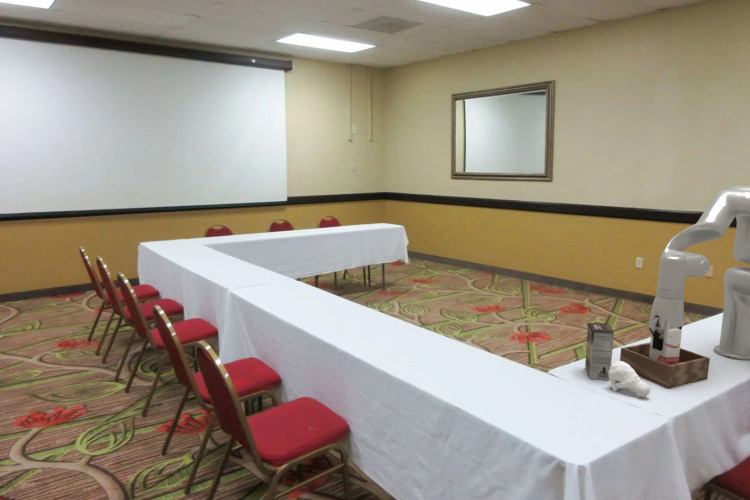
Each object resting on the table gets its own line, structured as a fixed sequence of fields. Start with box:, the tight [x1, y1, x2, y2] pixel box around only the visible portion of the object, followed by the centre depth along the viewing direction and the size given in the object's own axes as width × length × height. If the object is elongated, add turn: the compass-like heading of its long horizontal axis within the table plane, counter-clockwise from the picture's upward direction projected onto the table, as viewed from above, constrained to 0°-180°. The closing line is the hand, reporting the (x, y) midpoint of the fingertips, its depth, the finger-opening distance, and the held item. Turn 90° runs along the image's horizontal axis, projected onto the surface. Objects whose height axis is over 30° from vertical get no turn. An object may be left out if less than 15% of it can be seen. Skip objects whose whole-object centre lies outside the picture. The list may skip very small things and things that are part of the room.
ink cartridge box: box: [649, 320, 683, 365], centre depth 172 cm, size 9×5×15 cm, turn 5°
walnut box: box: [619, 341, 711, 390], centre depth 173 cm, size 18×18×7 cm
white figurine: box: [608, 360, 651, 399], centre depth 159 cm, size 6×8×12 cm
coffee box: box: [584, 322, 615, 381], centre depth 171 cm, size 9×6×16 cm
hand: (664, 347), depth 172 cm, fingers closed on ink cartridge box, 6 cm apart
